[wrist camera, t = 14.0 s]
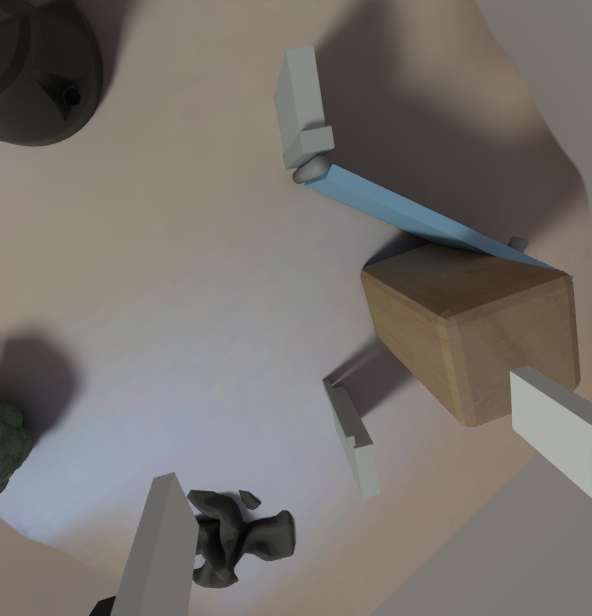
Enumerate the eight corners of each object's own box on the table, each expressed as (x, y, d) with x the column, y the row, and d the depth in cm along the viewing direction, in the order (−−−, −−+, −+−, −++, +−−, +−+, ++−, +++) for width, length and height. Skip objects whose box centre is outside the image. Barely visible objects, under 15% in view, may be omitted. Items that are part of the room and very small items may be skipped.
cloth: (317, 532, 55) (326, 572, 49) (224, 600, 56) (221, 646, 50) (219, 441, 48) (215, 474, 42) (116, 520, 49) (98, 563, 43)
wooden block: (433, 239, 43) (579, 268, 24) (448, 314, 46) (588, 391, 27) (356, 267, 43) (441, 317, 24) (376, 340, 46) (465, 436, 27)
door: (290, 180, 39) (308, 170, 27) (302, 150, 38) (325, 127, 27) (488, 268, 45) (570, 290, 33) (501, 243, 44) (590, 257, 32)
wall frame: (268, 98, 37) (278, 45, 24) (295, 93, 37) (318, 38, 25) (332, 431, 49) (360, 508, 37) (351, 426, 49) (386, 501, 37)
